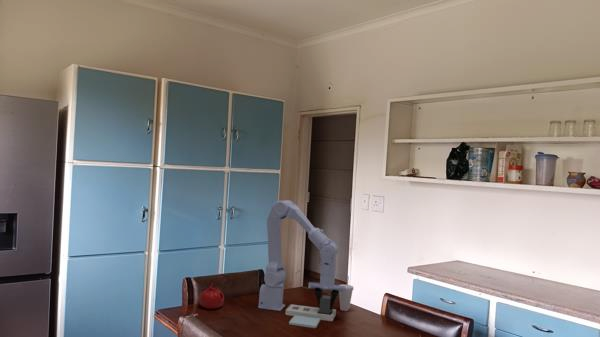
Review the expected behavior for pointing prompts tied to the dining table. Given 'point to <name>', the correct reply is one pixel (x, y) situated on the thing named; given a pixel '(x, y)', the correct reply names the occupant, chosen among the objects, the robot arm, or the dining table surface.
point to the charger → (325, 305)
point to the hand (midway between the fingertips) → (325, 308)
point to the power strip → (309, 312)
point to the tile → (304, 321)
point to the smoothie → (345, 297)
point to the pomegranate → (211, 298)
